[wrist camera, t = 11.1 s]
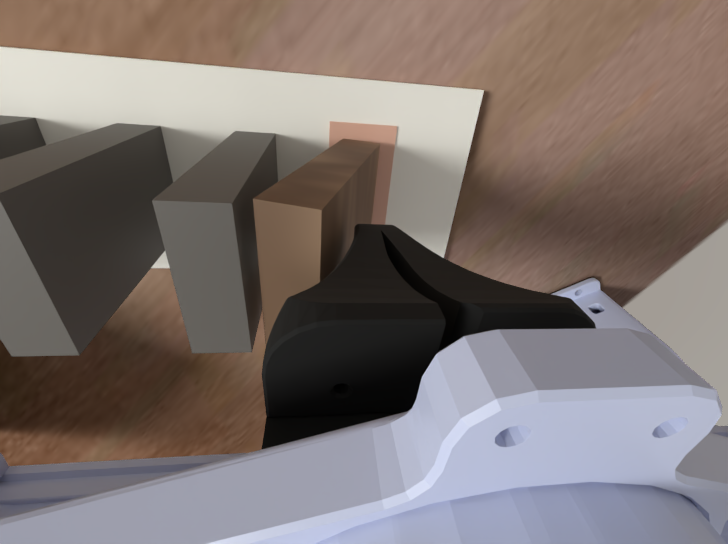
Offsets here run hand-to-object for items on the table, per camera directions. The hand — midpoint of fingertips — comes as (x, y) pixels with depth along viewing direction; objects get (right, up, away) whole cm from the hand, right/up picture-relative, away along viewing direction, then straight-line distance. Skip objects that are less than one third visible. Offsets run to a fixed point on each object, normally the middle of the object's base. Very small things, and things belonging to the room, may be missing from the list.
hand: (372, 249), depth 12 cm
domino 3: (-1, +3, +5) cm, 6 cm away
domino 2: (-6, +4, +5) cm, 8 cm away
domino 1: (-10, +4, +4) cm, 12 cm away
